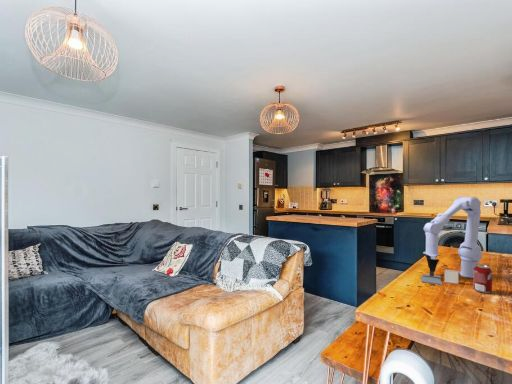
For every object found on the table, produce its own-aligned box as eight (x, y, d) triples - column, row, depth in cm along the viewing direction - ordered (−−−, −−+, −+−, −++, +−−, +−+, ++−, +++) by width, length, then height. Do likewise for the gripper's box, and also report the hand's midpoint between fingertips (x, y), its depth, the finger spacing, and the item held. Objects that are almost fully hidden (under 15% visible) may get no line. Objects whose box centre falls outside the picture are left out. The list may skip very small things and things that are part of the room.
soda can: (484, 294, 125) (485, 268, 124) (469, 289, 131) (470, 264, 131) (495, 293, 126) (495, 267, 126) (480, 288, 133) (480, 263, 133)
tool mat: (420, 277, 149) (420, 276, 149) (440, 279, 145) (440, 278, 145) (421, 282, 141) (421, 281, 141) (442, 285, 137) (442, 284, 137)
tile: (444, 281, 143) (444, 269, 143) (458, 283, 140) (458, 270, 140) (444, 282, 141) (444, 269, 141) (458, 284, 138) (458, 271, 138)
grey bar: (422, 275, 152) (423, 263, 152) (440, 278, 149) (440, 265, 149) (423, 277, 150) (423, 264, 150) (440, 279, 146) (440, 266, 146)
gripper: (422, 242, 157) (421, 265, 157) (424, 246, 144) (424, 272, 144) (436, 243, 154) (436, 267, 154) (440, 247, 141) (440, 274, 141)
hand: (431, 269), depth 149 cm, fingers open, 7 cm apart
